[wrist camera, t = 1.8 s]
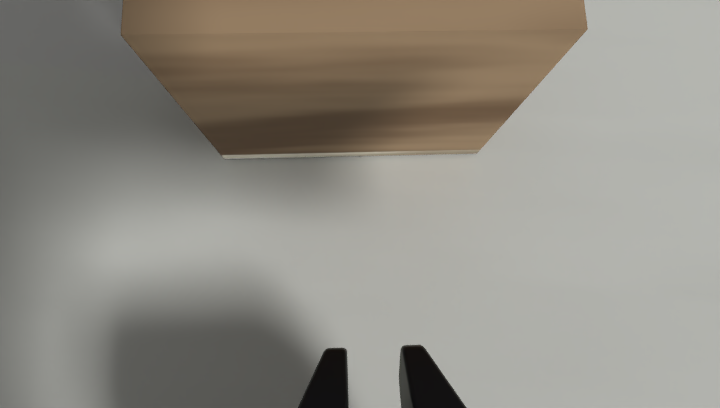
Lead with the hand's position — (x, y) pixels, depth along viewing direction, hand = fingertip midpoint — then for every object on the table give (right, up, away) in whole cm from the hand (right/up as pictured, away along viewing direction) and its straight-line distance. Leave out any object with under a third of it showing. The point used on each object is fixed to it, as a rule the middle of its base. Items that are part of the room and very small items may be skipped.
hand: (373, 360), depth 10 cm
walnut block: (-1, +7, +14) cm, 16 cm away
